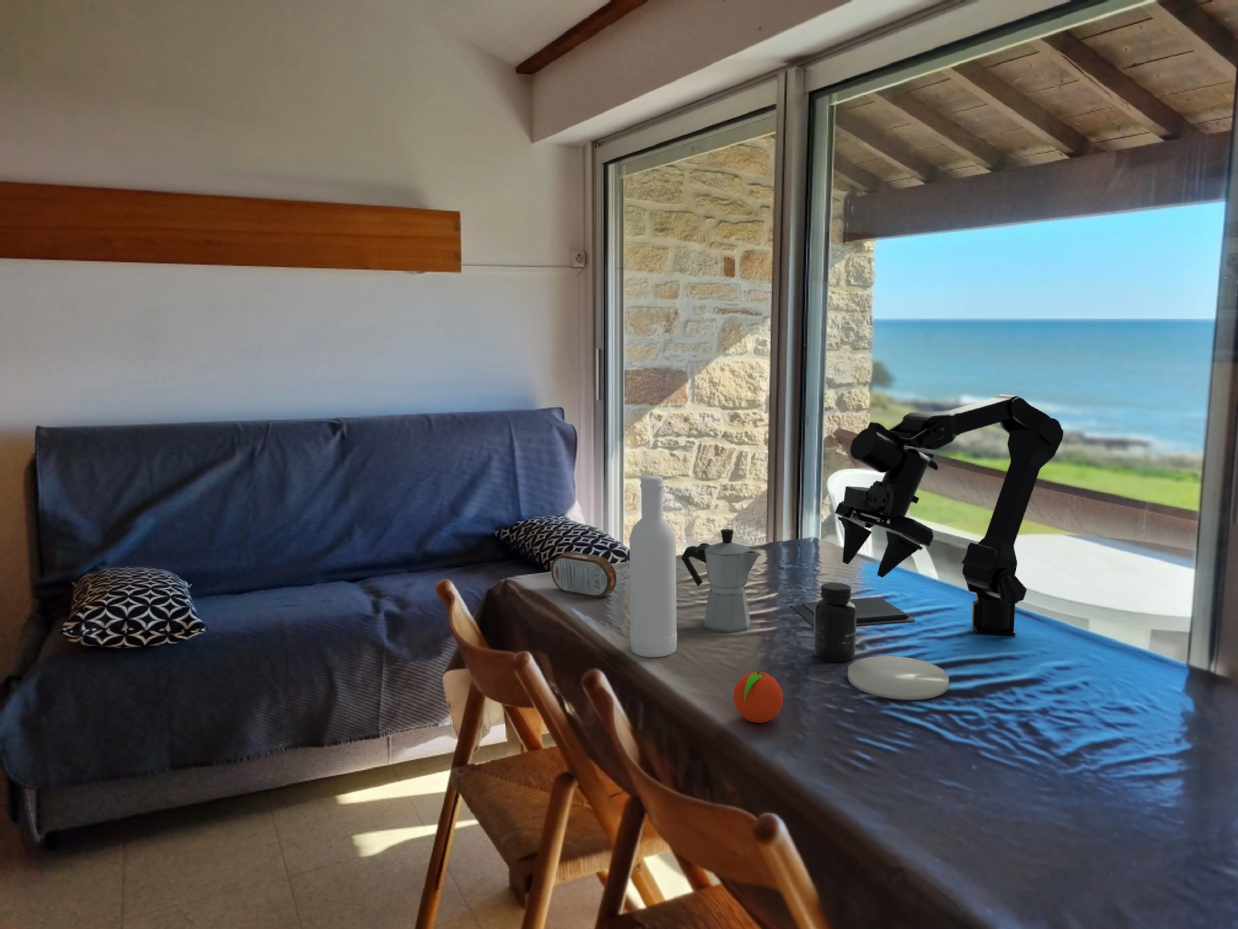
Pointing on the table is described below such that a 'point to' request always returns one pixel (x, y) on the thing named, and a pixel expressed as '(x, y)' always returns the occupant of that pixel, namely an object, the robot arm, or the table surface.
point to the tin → (583, 574)
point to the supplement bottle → (835, 624)
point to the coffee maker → (724, 581)
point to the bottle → (653, 576)
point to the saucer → (898, 677)
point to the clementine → (758, 697)
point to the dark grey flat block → (862, 612)
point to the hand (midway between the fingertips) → (861, 569)
